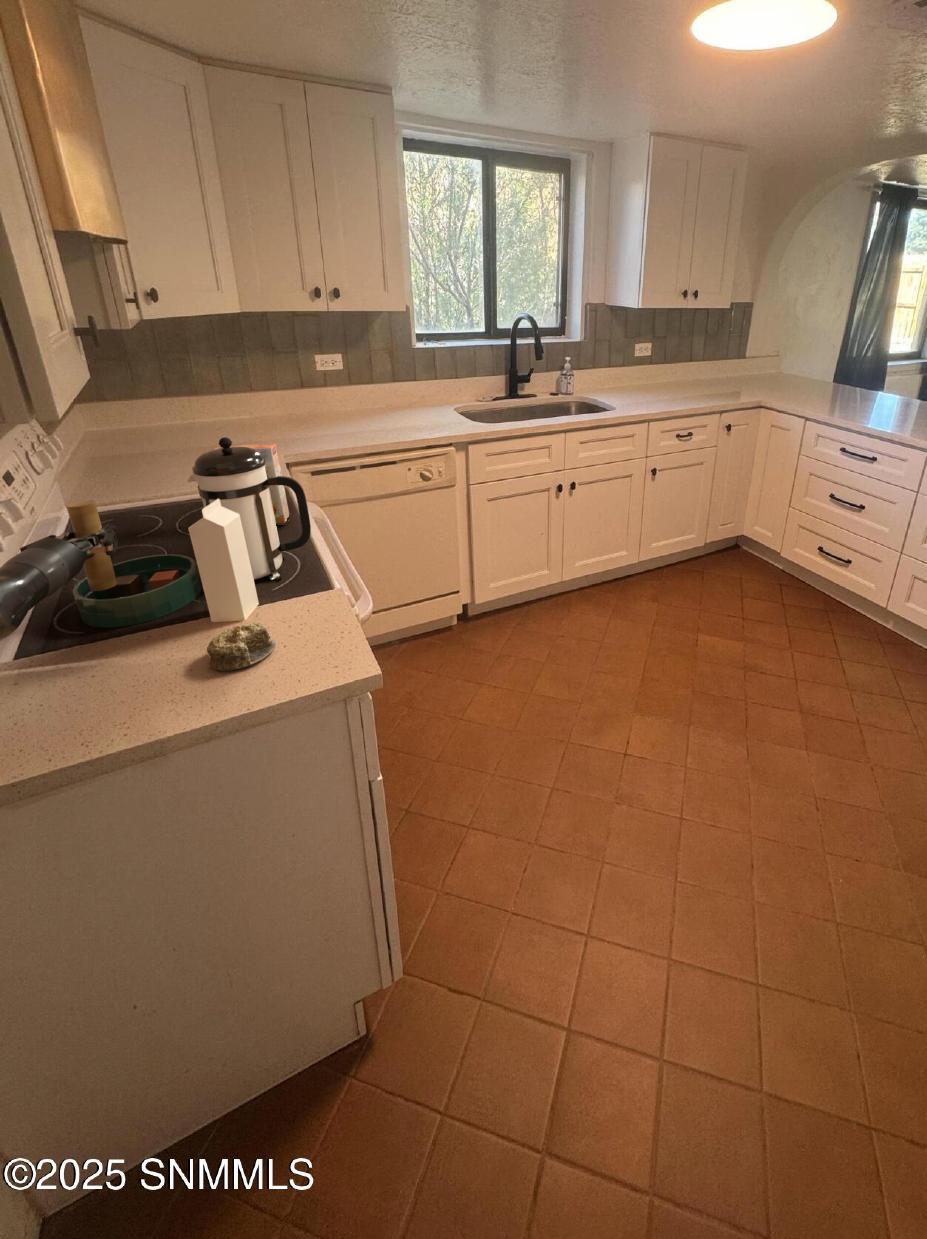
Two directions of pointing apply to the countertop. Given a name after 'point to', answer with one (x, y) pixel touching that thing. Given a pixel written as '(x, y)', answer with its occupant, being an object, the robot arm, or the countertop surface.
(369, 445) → the countertop surface
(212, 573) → the milk
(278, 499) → the cracker box
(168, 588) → the bowl
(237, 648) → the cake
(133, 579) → the walnut block
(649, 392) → the countertop surface
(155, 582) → the terracotta block
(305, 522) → the coffee press
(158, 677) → the countertop surface
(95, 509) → the tan cylinder
